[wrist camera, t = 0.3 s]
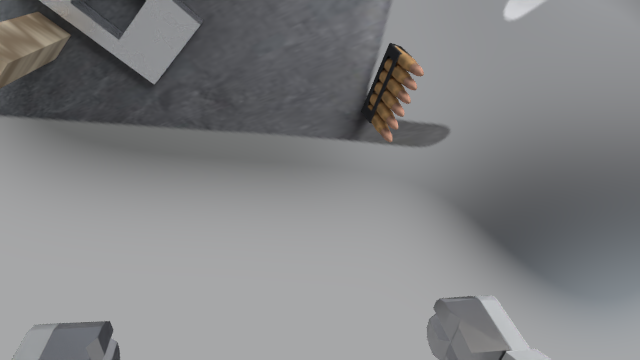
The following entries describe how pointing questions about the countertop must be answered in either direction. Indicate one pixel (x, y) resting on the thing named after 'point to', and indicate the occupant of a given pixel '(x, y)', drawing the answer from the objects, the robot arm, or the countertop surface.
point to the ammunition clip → (390, 89)
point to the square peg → (28, 45)
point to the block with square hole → (137, 32)
